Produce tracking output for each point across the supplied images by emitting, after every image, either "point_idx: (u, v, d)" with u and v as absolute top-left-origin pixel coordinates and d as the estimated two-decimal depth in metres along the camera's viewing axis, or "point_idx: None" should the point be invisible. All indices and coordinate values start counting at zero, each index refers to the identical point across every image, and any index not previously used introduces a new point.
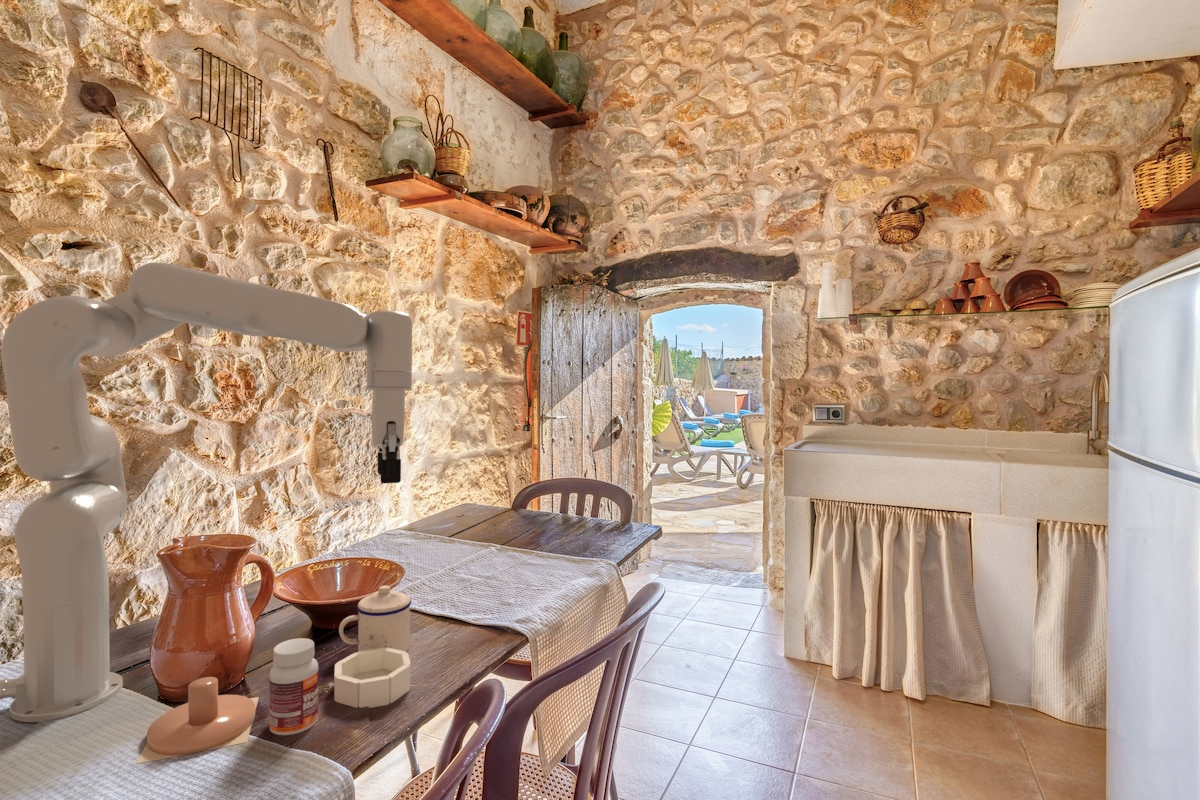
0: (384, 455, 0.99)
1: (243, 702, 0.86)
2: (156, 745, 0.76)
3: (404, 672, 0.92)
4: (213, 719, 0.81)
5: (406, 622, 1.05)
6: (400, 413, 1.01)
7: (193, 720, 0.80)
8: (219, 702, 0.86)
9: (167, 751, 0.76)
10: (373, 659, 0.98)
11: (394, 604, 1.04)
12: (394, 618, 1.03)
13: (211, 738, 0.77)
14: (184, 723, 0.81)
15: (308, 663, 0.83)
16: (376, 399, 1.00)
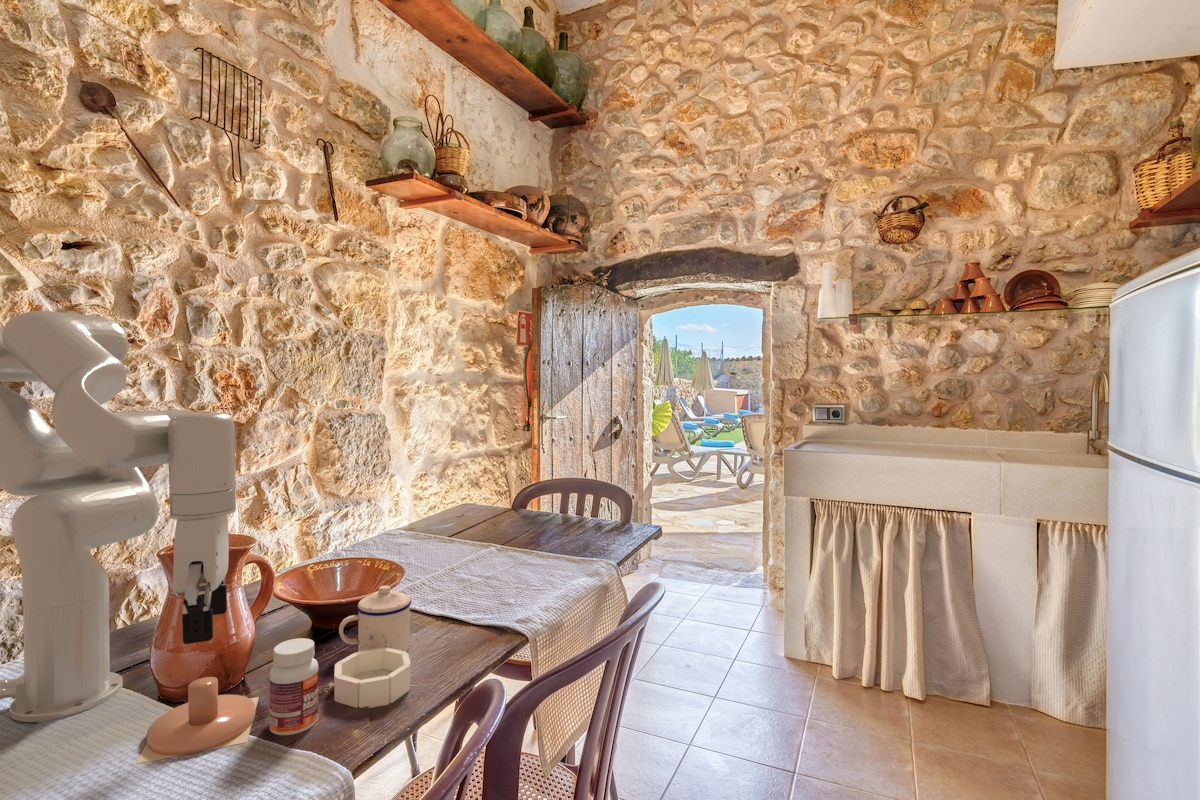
0: (185, 608, 0.75)
1: (243, 702, 0.86)
2: (156, 745, 0.76)
3: (404, 672, 0.92)
4: (213, 719, 0.81)
5: (406, 622, 1.05)
6: (210, 548, 0.77)
7: (193, 720, 0.80)
8: (219, 702, 0.86)
9: (167, 751, 0.76)
10: (373, 659, 0.98)
11: (394, 604, 1.04)
12: (394, 618, 1.03)
13: (211, 738, 0.77)
14: (184, 723, 0.81)
15: (308, 663, 0.83)
16: (175, 533, 0.76)
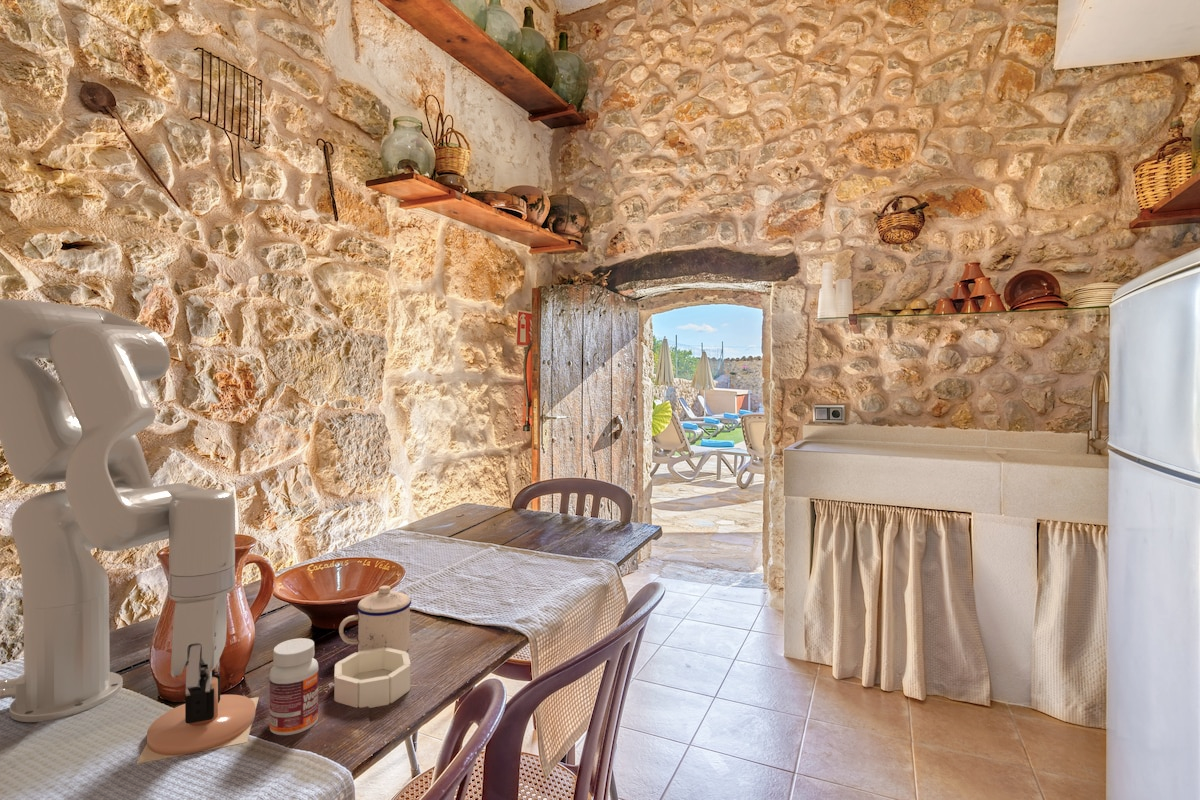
0: (187, 693, 0.78)
1: (243, 702, 0.86)
2: (156, 745, 0.76)
3: (404, 672, 0.92)
4: (213, 719, 0.81)
5: (406, 622, 1.05)
6: (208, 630, 0.78)
7: None
8: (219, 702, 0.86)
9: (167, 751, 0.76)
10: (373, 659, 0.98)
11: (394, 604, 1.04)
12: (394, 618, 1.03)
13: (211, 738, 0.77)
14: (184, 723, 0.81)
15: (308, 663, 0.83)
16: (174, 616, 0.77)
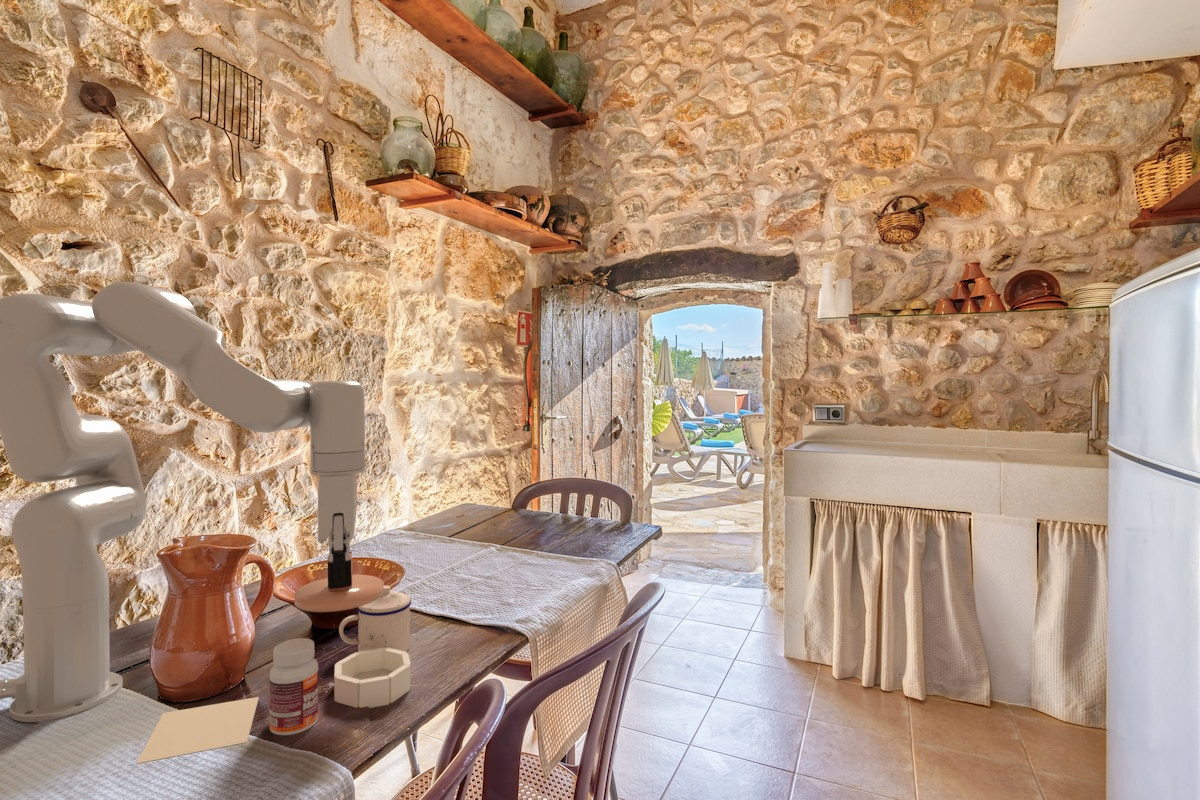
0: (331, 560, 0.86)
1: (371, 579, 0.94)
2: (306, 603, 0.84)
3: (404, 672, 0.92)
4: (349, 588, 0.90)
5: (406, 622, 1.05)
6: (349, 502, 0.86)
7: None
8: None
9: (317, 608, 0.84)
10: (373, 659, 0.98)
11: (394, 604, 1.04)
12: (394, 618, 1.03)
13: (353, 599, 0.86)
14: (325, 591, 0.89)
15: (308, 663, 0.83)
16: (320, 487, 0.85)
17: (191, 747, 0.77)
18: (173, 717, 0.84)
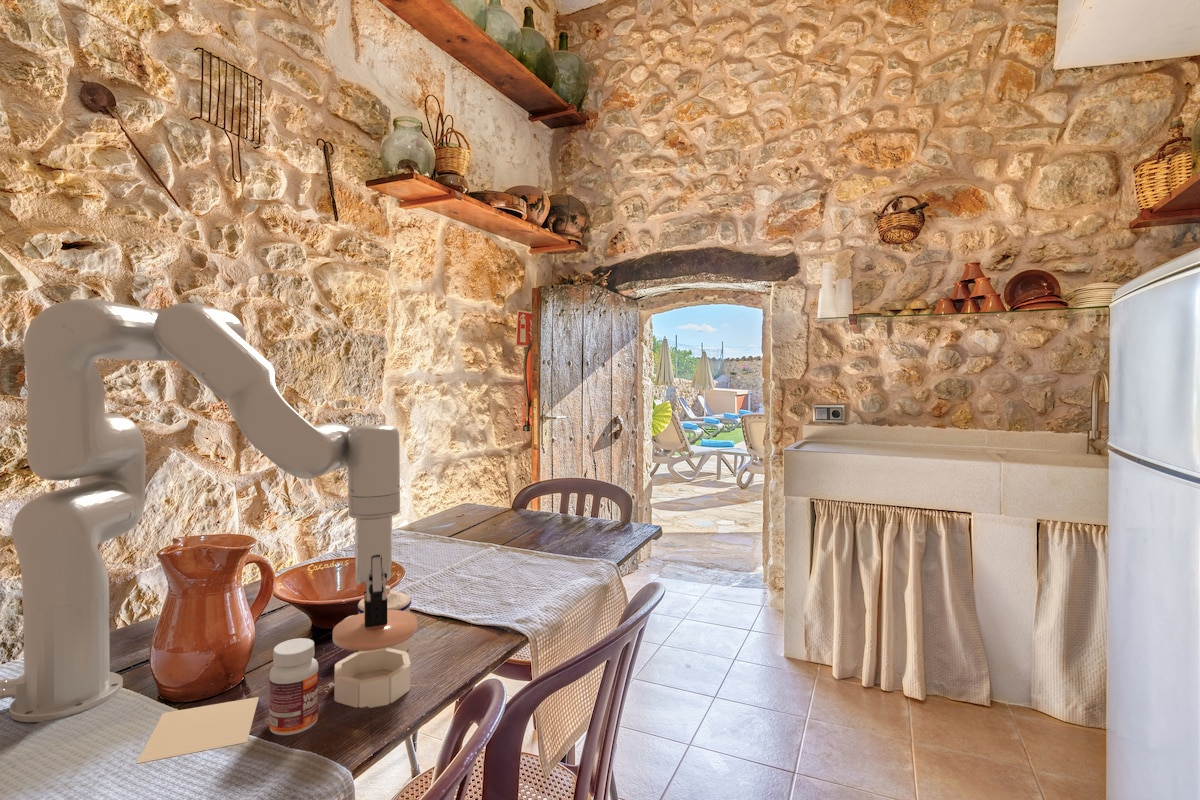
0: (368, 600, 0.89)
1: (404, 614, 0.97)
2: (346, 642, 0.87)
3: (404, 672, 0.92)
4: (385, 625, 0.93)
5: None
6: (386, 544, 0.89)
7: None
8: None
9: (357, 647, 0.87)
10: (373, 659, 0.98)
11: (394, 604, 1.04)
12: None
13: (391, 637, 0.89)
14: (361, 628, 0.92)
15: (308, 663, 0.83)
16: (359, 530, 0.88)
17: (191, 747, 0.77)
18: (173, 717, 0.84)
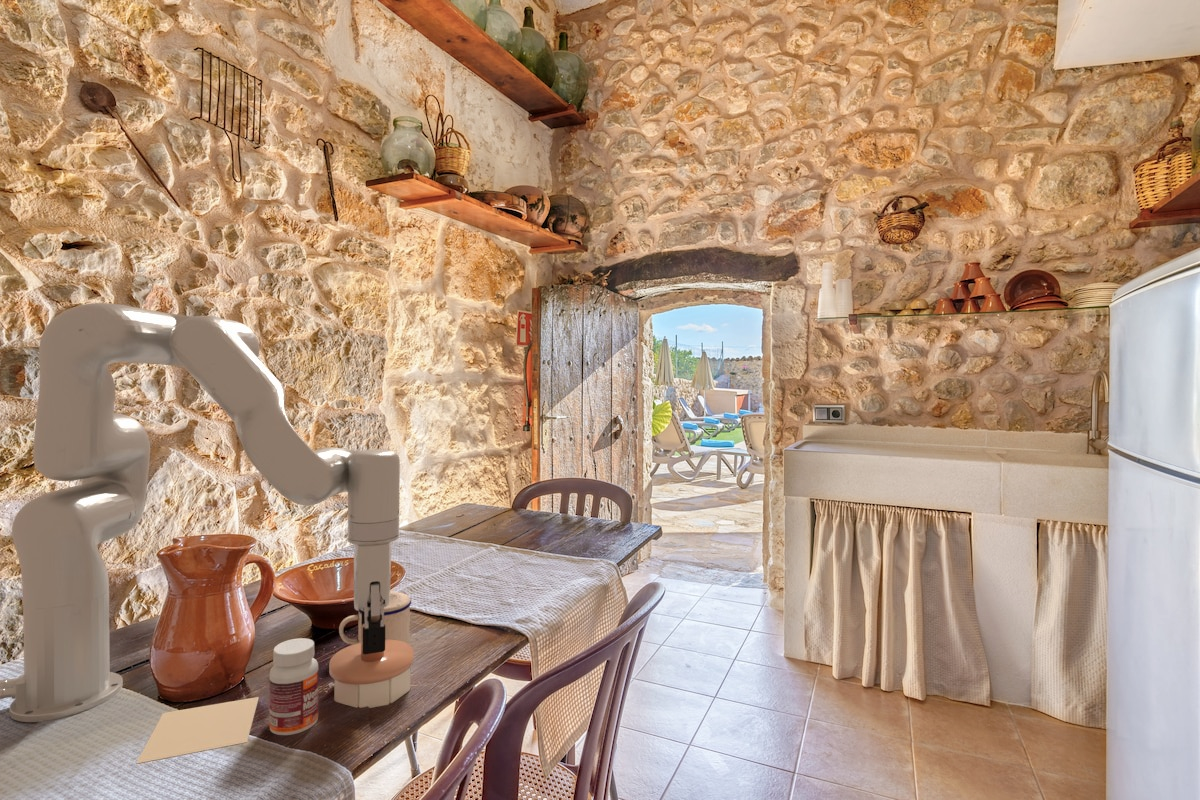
0: (366, 626, 0.88)
1: (400, 645, 0.97)
2: (342, 675, 0.87)
3: (404, 672, 0.92)
4: (382, 657, 0.93)
5: (406, 622, 1.05)
6: (385, 570, 0.89)
7: (367, 657, 0.91)
8: None
9: (353, 680, 0.87)
10: None
11: (394, 604, 1.04)
12: (394, 618, 1.03)
13: (387, 671, 0.89)
14: (358, 660, 0.92)
15: (308, 663, 0.83)
16: (358, 557, 0.88)
17: (191, 747, 0.77)
18: (173, 717, 0.84)
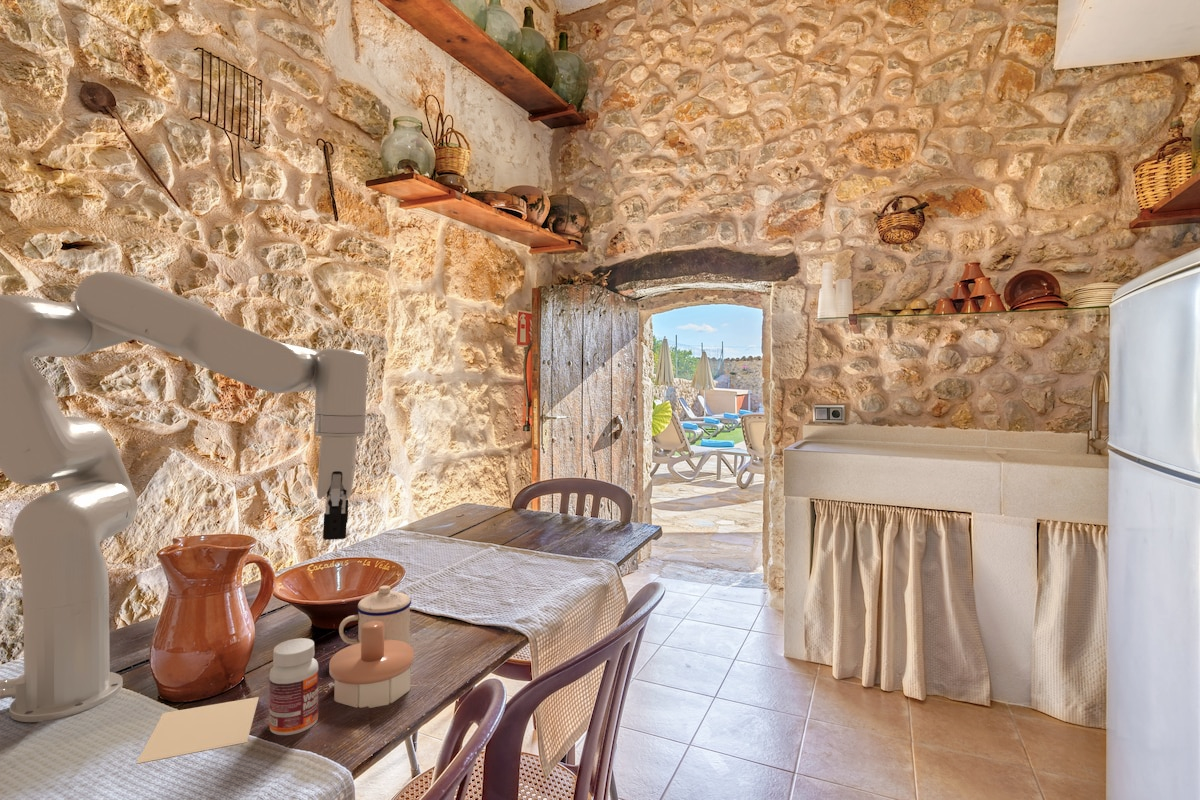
0: (327, 509, 0.90)
1: (400, 645, 0.97)
2: (342, 675, 0.87)
3: (404, 672, 0.92)
4: (382, 657, 0.93)
5: (406, 622, 1.05)
6: (347, 462, 0.92)
7: (367, 657, 0.91)
8: None
9: (353, 680, 0.87)
10: None
11: (394, 604, 1.04)
12: (394, 618, 1.03)
13: (387, 671, 0.89)
14: (358, 660, 0.92)
15: (308, 663, 0.83)
16: (321, 447, 0.91)
17: (191, 747, 0.77)
18: (173, 717, 0.84)
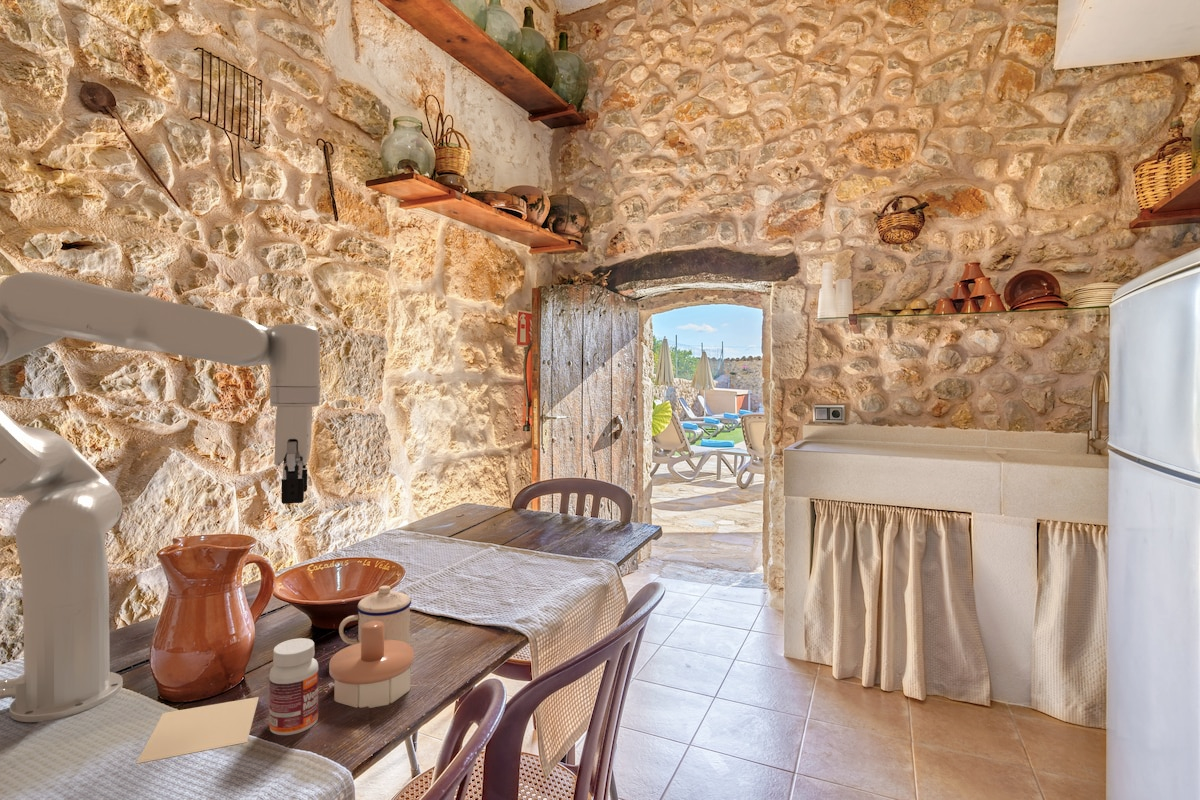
0: (284, 474, 0.95)
1: (400, 645, 0.97)
2: (342, 675, 0.87)
3: (404, 672, 0.92)
4: (382, 657, 0.93)
5: (406, 622, 1.05)
6: (303, 430, 0.97)
7: (367, 657, 0.91)
8: None
9: (353, 680, 0.87)
10: None
11: (394, 604, 1.04)
12: (394, 618, 1.03)
13: (387, 671, 0.89)
14: (358, 660, 0.92)
15: (308, 663, 0.83)
16: (277, 416, 0.96)
17: (191, 747, 0.77)
18: (173, 717, 0.84)
